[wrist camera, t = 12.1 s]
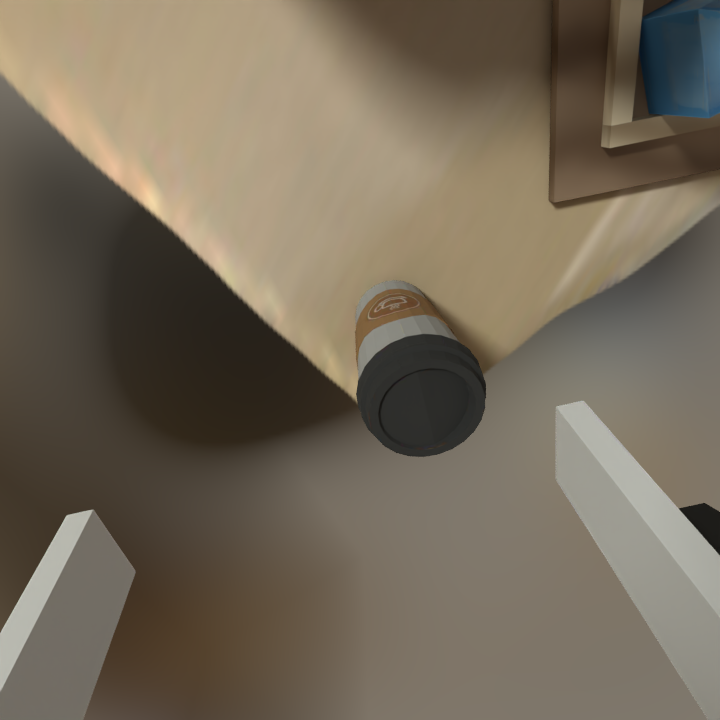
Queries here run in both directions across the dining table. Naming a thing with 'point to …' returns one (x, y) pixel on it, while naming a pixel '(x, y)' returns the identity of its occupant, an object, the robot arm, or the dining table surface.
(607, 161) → the socket board
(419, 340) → the coffee cup
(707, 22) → the perfume bottle
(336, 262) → the dining table surface
